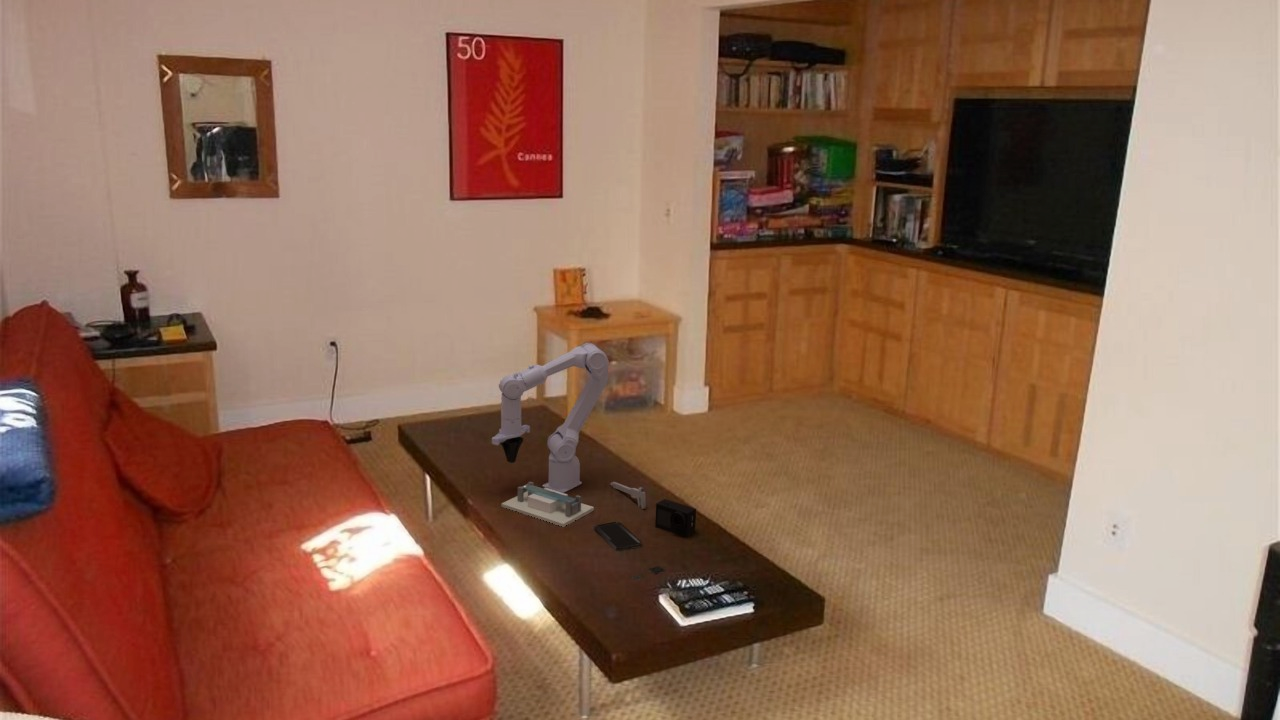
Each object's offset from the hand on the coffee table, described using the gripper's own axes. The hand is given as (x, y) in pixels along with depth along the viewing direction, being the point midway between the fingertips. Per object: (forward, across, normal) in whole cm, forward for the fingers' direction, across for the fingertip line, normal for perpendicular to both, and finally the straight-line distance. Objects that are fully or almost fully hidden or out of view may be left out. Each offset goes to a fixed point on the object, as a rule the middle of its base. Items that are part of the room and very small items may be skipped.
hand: (511, 461), depth 277 cm
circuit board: (+10, +16, +60) cm, 63 cm away
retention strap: (+6, +3, +16) cm, 17 cm away
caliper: (+10, -18, +29) cm, 36 cm away
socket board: (+9, +3, +16) cm, 19 cm away
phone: (+10, +6, +42) cm, 44 cm away
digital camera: (+10, -7, +52) cm, 53 cm away
